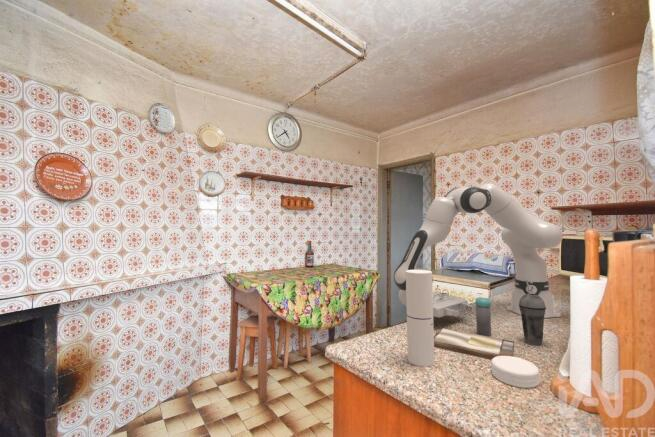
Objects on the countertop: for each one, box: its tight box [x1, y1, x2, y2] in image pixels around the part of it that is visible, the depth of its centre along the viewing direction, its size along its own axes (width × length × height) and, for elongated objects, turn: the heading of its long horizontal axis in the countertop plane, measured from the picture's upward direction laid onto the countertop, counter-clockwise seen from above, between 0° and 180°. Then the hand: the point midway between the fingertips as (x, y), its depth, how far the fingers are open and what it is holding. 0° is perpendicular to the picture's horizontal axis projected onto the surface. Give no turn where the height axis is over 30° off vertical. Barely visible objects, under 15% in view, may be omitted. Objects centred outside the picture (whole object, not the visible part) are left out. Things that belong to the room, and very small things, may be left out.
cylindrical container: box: [406, 269, 435, 368], centre depth 81 cm, size 7×7×25 cm
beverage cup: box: [519, 280, 546, 346], centre depth 92 cm, size 7×7×20 cm
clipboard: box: [434, 327, 515, 361], centre depth 90 cm, size 15×22×2 cm
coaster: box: [490, 356, 540, 389], centre depth 71 cm, size 10×10×4 cm
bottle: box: [475, 297, 492, 337], centre depth 100 cm, size 5×5×12 cm
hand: (466, 311), depth 105 cm, fingers open, 8 cm apart
